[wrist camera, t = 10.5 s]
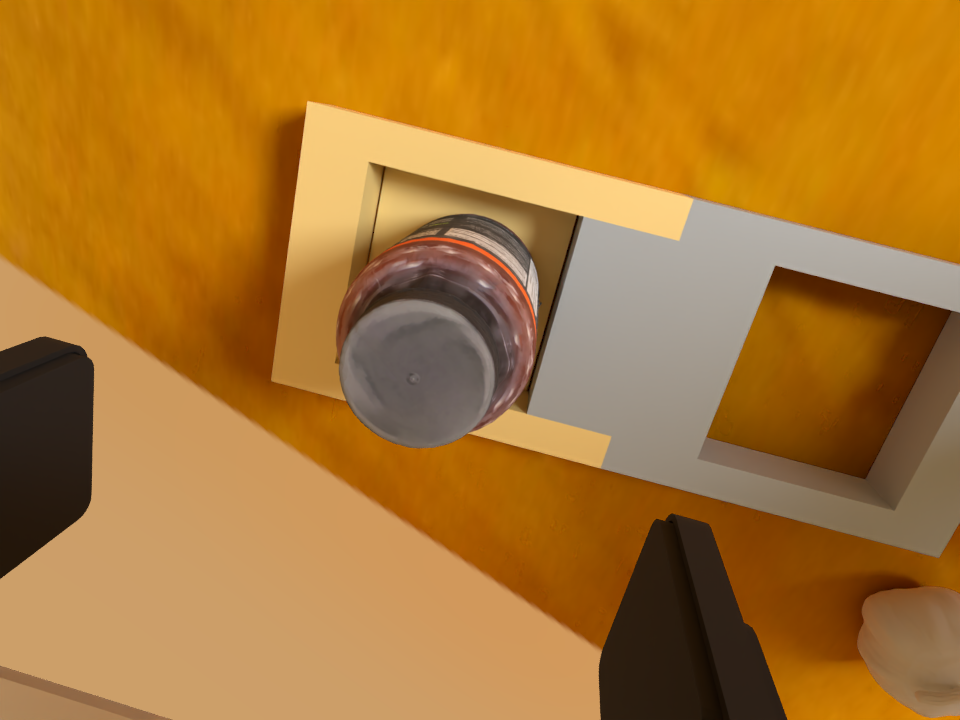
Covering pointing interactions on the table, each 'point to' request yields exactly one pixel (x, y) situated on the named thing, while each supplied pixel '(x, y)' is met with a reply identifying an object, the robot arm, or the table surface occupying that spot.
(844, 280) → the beige and grey tray
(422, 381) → the supplement bottle
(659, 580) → the robot arm
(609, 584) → the table surface
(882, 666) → the garlic
